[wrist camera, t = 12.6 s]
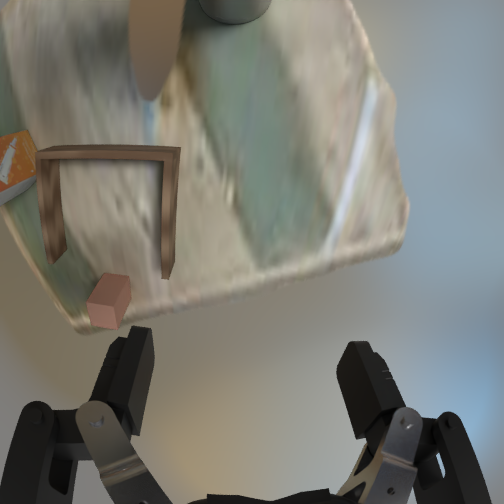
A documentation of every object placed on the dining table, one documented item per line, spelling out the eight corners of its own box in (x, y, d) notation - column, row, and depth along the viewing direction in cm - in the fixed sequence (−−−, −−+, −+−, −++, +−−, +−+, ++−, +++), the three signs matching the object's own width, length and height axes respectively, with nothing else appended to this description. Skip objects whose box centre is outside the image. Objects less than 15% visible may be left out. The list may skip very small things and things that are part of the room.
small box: (49, 168, 35) (-5, 196, 23) (27, 190, 36) (-24, 222, 24) (27, 128, 31) (-29, 144, 19) (7, 152, 32) (-47, 174, 20)
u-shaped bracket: (53, 145, 33) (35, 152, 29) (180, 147, 35) (173, 152, 31) (62, 248, 41) (48, 263, 36) (174, 261, 43) (168, 279, 39)
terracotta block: (104, 272, 43) (85, 302, 36) (128, 276, 44) (113, 306, 37) (107, 294, 45) (91, 325, 38) (131, 298, 46) (117, 330, 39)
